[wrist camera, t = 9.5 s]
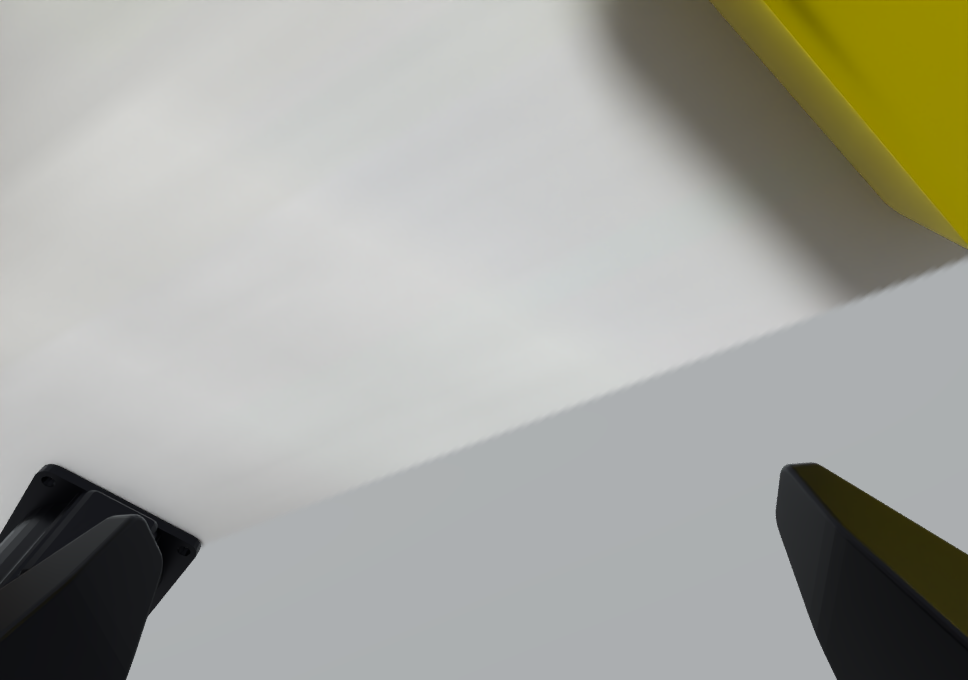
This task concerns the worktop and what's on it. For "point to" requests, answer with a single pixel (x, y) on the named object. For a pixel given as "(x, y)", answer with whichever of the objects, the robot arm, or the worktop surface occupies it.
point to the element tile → (878, 91)
